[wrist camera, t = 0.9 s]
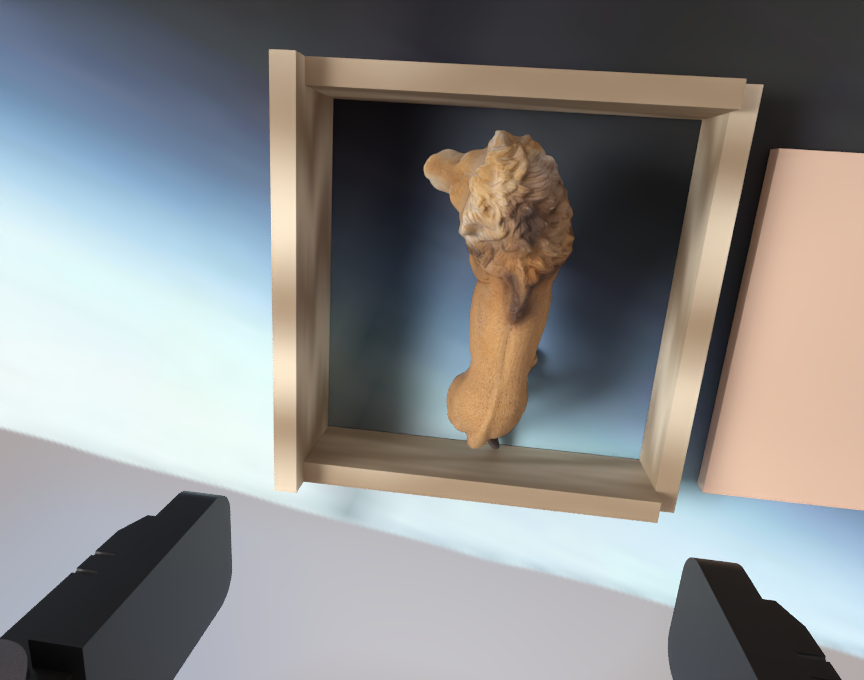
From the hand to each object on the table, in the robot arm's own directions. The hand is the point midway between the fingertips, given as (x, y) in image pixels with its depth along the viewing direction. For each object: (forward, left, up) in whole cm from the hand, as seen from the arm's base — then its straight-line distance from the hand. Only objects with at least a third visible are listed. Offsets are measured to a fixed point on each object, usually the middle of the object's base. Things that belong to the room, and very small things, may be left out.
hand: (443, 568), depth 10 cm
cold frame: (-2, +1, -18) cm, 18 cm away
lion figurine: (-1, +1, -19) cm, 19 cm away
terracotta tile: (-1, +18, -18) cm, 26 cm away
